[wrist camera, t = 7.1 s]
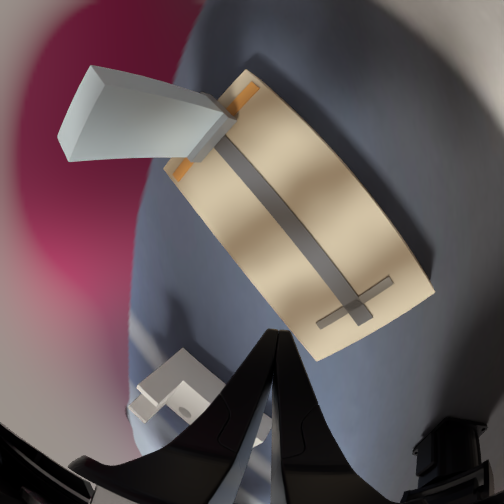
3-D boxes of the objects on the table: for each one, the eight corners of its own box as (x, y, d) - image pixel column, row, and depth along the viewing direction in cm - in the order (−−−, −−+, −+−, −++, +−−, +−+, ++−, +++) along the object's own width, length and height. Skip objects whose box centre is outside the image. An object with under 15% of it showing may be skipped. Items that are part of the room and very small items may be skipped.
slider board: (430, 280, 16) (435, 293, 14) (322, 347, 21) (316, 362, 19) (257, 77, 17) (245, 68, 15) (179, 168, 22) (162, 168, 20)
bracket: (167, 374, 32) (127, 407, 25) (184, 346, 28) (138, 384, 22) (245, 437, 29) (216, 479, 23) (276, 419, 26) (246, 470, 19)
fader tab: (237, 120, 17) (109, 91, 8) (200, 162, 19) (72, 169, 10) (211, 94, 17) (87, 61, 8) (178, 135, 19) (54, 131, 10)
